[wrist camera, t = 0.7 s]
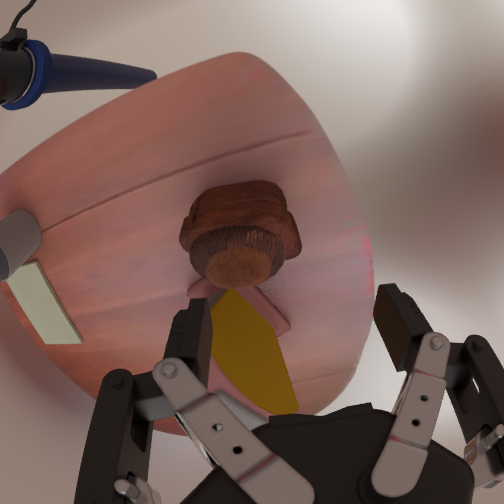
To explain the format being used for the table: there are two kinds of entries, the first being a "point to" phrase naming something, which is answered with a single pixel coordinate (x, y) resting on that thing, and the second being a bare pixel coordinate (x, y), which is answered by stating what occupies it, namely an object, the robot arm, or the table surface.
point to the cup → (17, 241)
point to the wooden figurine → (240, 234)
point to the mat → (42, 305)
